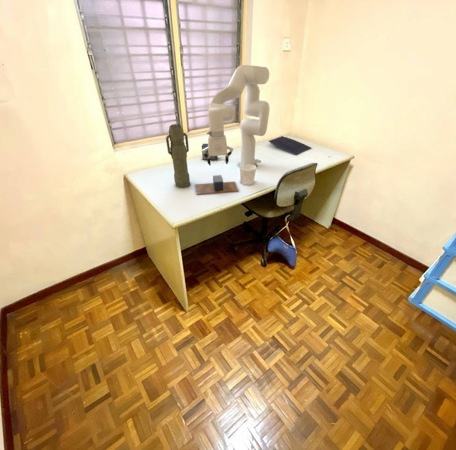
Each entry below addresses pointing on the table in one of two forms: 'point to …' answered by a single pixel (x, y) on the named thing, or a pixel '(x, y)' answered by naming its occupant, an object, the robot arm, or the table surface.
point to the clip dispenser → (218, 182)
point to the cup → (247, 174)
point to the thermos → (178, 155)
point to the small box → (207, 153)
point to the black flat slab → (289, 145)
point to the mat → (210, 189)
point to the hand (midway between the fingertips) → (218, 163)
